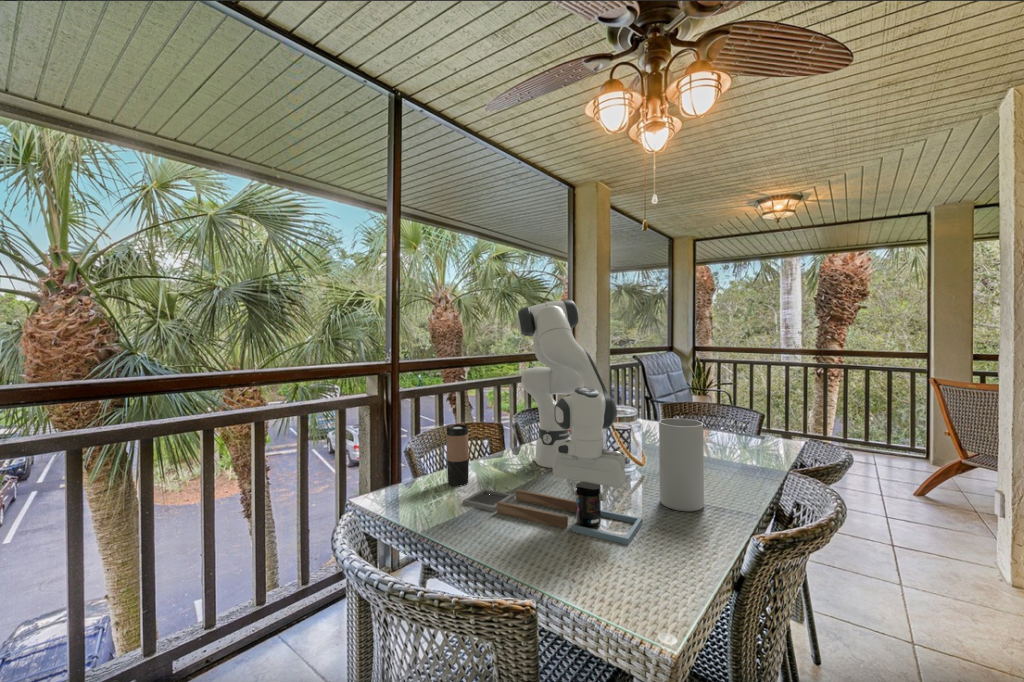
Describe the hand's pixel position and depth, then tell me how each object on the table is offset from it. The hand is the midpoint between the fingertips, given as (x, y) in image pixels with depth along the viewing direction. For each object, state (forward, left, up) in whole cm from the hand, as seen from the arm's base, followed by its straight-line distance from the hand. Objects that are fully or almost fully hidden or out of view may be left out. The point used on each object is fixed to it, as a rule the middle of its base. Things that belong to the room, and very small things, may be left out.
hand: (588, 497), depth 120 cm
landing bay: (0, +5, -7) cm, 9 cm away
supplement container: (0, 0, -7) cm, 7 cm away
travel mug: (-9, -52, -7) cm, 53 cm away
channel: (0, -15, -7) cm, 17 cm away
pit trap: (0, -33, -7) cm, 34 cm away
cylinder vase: (-26, +20, -7) cm, 34 cm away
